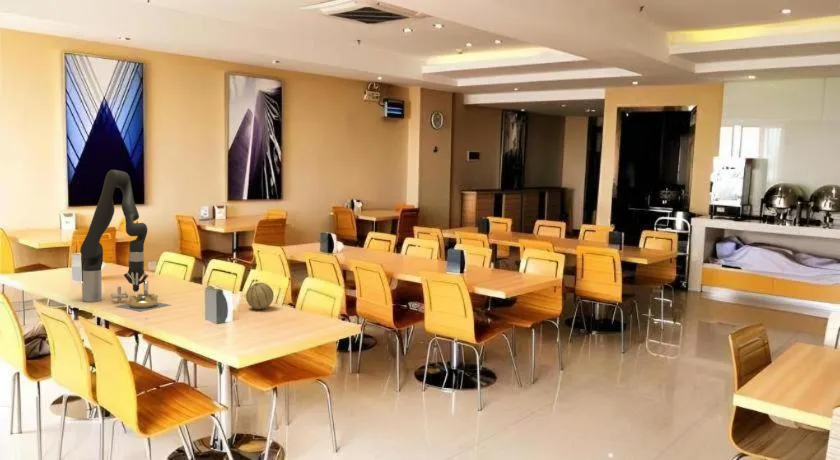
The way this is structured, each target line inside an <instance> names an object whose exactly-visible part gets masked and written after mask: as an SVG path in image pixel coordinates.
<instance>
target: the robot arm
mask: <svg viewBox="0 0 840 460" xmlns="http://www.w3.org/2000/svg"><path fill="white" fill-rule="evenodd" d="M116 188H119V189H120V191H121V192H122V200H121V210H122V213H123V216H124V220H125V233H126V234H127V235H128V236H129V237H136V238H135V239H134V240H131V241H130V242H129V251H128V252H129V254H128V270H127V272H125V273H124V274H123V276H124V277H125V279H126V280H127V282H128V283H129V284H131V285H132V291H133V292H135V293H137V292H139V290H140V285H142V284H144V281H147V280H146V279H147V278H149V274H146V272H145V253H144V252H145V251H144V248H145V246H144V245H145V241H146V238H147V234H148V227H147V224H146V223H144V222H135V221H137V220H139V218H140V214H139V211H138V208H137V206H136V203H135V200H134V193H133V188H132V182H131V177H130V175H129V174H128V173H127V172H126V171H122V170H118V169H110V170H109V171H107V173H106V175H105V178H104V182H103V187H102V191H101V194H100V197H99V199H98V203H97V205H96V208H95V210H94V214H93V216H92V219H91V222H90V224H89V228H88V231H87V234H86V236H85V237H84V240H83V242H81V243H82V244H81V246H80V248H79V249H80V250H79V252H80V255H81V256H82V258H84V259H85V260H84V263H83V265H82V283H81V287H82V288H81V294H82V295H81V296H82V297H81V298H82V301H83V302H87V303H95V302H96V303H97V302H100V301H102V297H103V295H102V294H103V293H102V289H103V288H102V287H103V285H102V265H103V264H104V263H103V262H104V261H103V259H104V258H103V257H104V248H103V245H102V244H101V241H100V240H101V238H102V236H103V234H104V233H105V231H106V230H107V229H108V227H109V226H110V224H111V222H112V220H113V217H114V214H115V205H114V199H113V197H114V192H115V190H116Z"/></svg>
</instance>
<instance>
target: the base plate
mask: <svg viewBox="0 0 840 460" xmlns="http://www.w3.org/2000/svg"><path fill="white" fill-rule="evenodd" d="M169 306H172V305H171V304H168V303H162V302H159V301H158V305H157V306H155V307H150V308H132V307H130V306H129V303H125V304H120V305H115V306H114V307H115V308H120V309H126V310H130V311H134V312H139V313H141V312H142V313H144V312H147V311H152V310H156V309H160V308H166V307H169Z"/></svg>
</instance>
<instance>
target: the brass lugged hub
mask: <svg viewBox="0 0 840 460" xmlns="http://www.w3.org/2000/svg"><path fill="white" fill-rule="evenodd" d="M128 301H129V303H128V304H129V306H130V307H132V308H150V307H155V306H157V305H158V302H159V301H158V295H155V293H149V281H148V280H145V281H144V282H143V293H137V296H136V295H129V300H128Z"/></svg>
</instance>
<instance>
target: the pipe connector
mask: <svg viewBox="0 0 840 460" xmlns="http://www.w3.org/2000/svg"><path fill="white" fill-rule="evenodd" d="M110 297H111V300H114V299H117V303H121V302H122V299H128V298H129V295H128V293H127V292H122V286H121V285H120V286H117V292H116V293H110Z"/></svg>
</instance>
